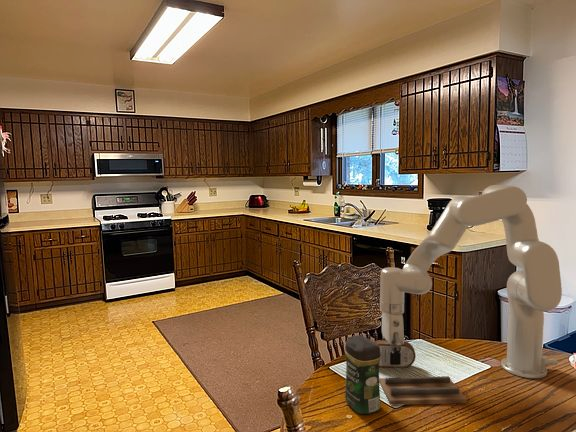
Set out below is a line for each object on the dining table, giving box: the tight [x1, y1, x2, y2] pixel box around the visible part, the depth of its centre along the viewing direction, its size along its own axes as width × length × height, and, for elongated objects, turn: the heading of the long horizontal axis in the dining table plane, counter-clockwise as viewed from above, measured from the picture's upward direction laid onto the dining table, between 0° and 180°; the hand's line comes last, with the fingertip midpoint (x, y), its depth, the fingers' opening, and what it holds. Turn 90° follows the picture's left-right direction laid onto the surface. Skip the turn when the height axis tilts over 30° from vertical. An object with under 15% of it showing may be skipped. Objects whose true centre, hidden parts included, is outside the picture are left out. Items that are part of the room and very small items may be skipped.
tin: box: [373, 339, 416, 369], centre depth 130 cm, size 15×3×8 cm, turn 84°
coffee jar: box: [344, 334, 381, 415], centre depth 107 cm, size 10×8×19 cm
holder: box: [379, 375, 468, 406], centre depth 114 cm, size 21×12×3 cm, turn 91°
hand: (390, 357), depth 130 cm, fingers open, 9 cm apart
